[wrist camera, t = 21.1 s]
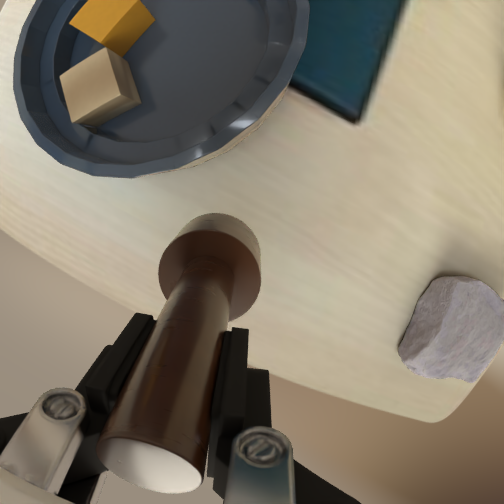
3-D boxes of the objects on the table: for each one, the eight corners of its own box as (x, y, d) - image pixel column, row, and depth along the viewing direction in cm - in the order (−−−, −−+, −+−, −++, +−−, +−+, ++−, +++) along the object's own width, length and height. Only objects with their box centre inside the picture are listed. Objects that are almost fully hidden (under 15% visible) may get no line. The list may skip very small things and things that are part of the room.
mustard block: (123, 2, 18) (104, -18, 14) (155, 19, 18) (139, -1, 15) (92, 38, 19) (68, 23, 15) (122, 57, 19) (100, 43, 16)
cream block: (85, 85, 20) (59, 75, 16) (127, 61, 19) (106, 46, 16) (98, 126, 21) (71, 123, 17) (141, 103, 21) (120, 94, 17)
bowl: (85, -32, 17) (56, -58, 11) (306, -40, 17) (317, -79, 11) (42, 168, 23) (-2, 174, 17) (279, 185, 23) (287, 194, 17)
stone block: (423, 260, 26) (387, 360, 27) (455, 268, 22) (412, 382, 22) (493, 289, 28) (462, 371, 28) (522, 298, 23) (487, 387, 24)
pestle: (245, 201, 15) (207, 378, 4) (270, 282, 16) (285, 506, 5) (162, 227, 16) (10, 394, 4) (192, 302, 17) (121, 506, 6)
